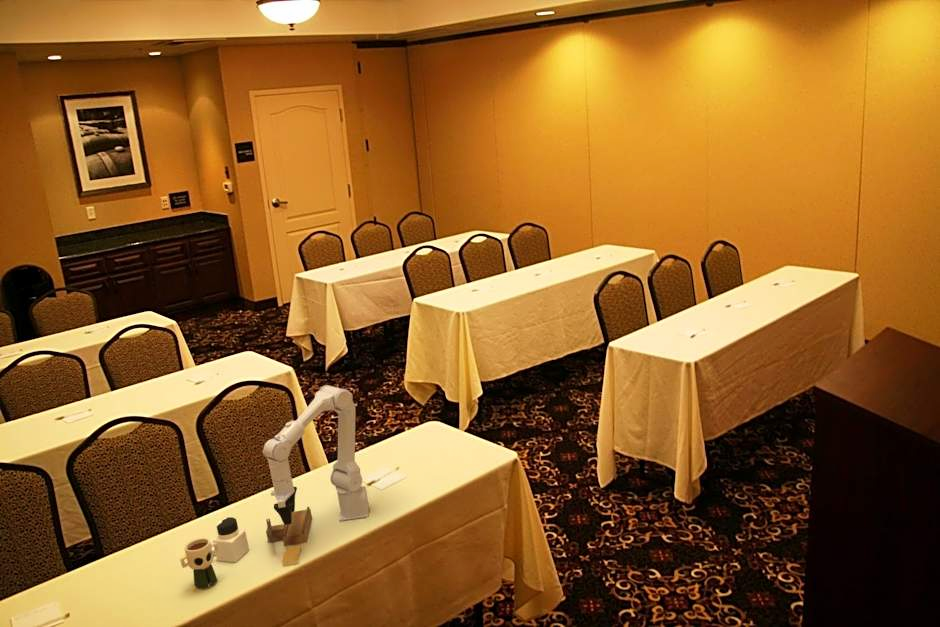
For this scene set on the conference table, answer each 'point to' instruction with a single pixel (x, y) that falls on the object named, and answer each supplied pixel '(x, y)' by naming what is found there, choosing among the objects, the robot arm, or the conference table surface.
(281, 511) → the robot arm
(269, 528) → the lever
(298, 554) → the wooden block
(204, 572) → the character mug
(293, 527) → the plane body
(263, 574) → the conference table surface
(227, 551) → the medicine bottle
